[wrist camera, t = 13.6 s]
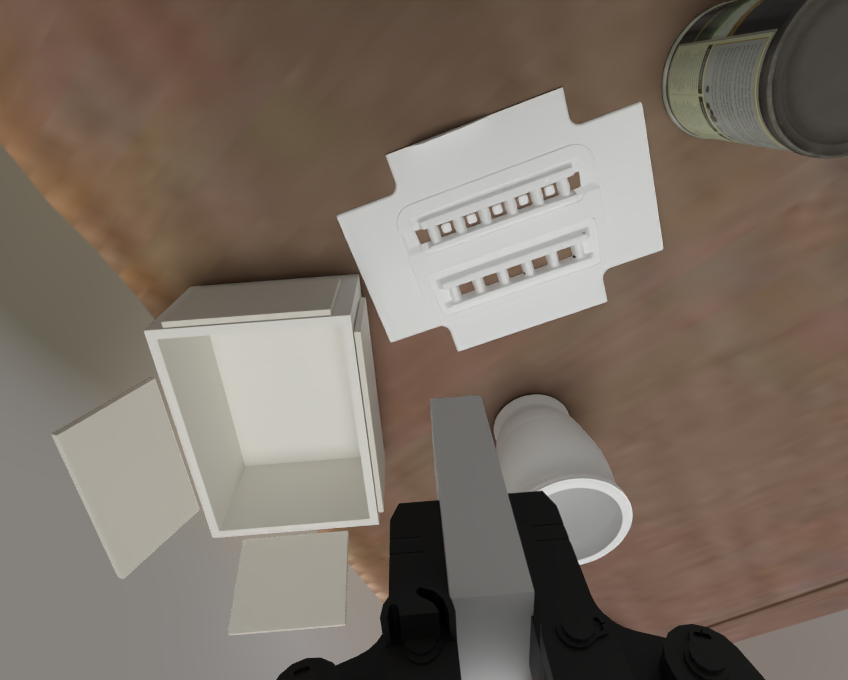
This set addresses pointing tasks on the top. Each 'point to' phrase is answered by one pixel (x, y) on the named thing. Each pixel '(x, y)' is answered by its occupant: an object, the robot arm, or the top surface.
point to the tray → (506, 220)
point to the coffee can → (764, 75)
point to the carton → (275, 403)
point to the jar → (562, 472)
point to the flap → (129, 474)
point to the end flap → (291, 583)
